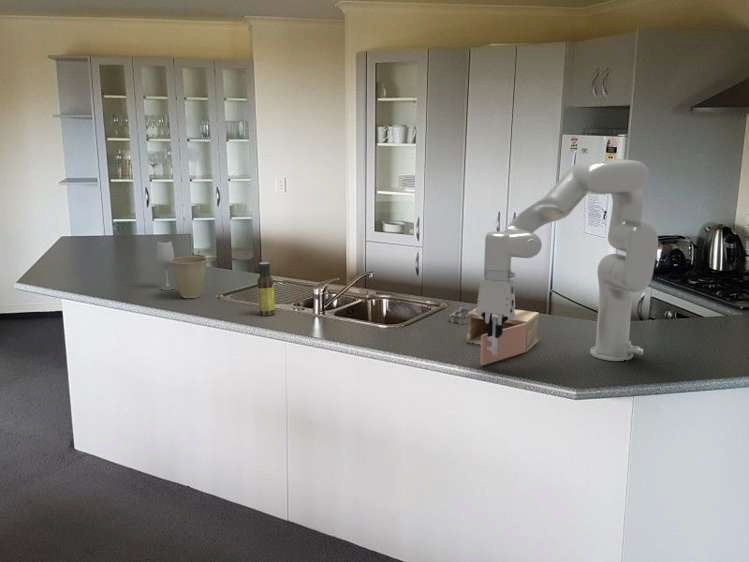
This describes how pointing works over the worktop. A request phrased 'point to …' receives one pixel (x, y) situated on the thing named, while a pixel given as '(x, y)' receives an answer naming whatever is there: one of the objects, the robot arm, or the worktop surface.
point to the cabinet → (478, 326)
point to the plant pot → (189, 274)
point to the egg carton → (459, 315)
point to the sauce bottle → (265, 290)
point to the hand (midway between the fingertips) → (494, 336)
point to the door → (503, 343)
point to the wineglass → (164, 255)
